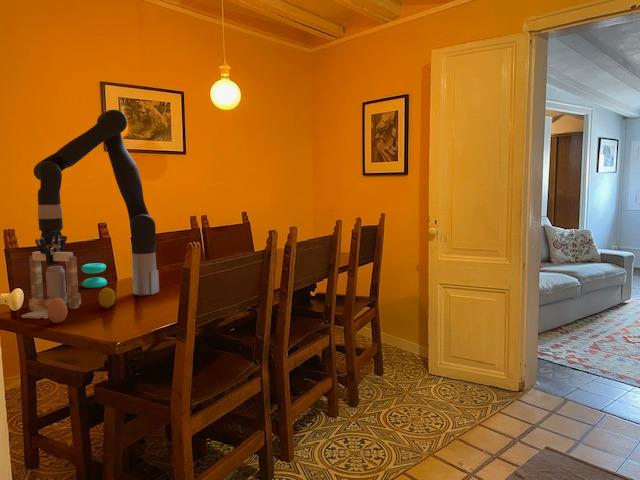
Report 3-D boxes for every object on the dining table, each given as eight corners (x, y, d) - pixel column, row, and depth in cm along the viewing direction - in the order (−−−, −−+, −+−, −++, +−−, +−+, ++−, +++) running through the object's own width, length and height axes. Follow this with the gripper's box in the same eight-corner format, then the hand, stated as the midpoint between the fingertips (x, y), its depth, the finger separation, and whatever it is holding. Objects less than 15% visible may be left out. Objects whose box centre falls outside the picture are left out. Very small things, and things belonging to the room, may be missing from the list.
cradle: (87, 304, 171) (84, 254, 169) (66, 312, 160) (62, 259, 158) (46, 302, 174) (43, 253, 172) (23, 310, 162) (19, 258, 160)
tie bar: (73, 260, 165) (72, 252, 165) (68, 261, 163) (68, 253, 162) (37, 259, 167) (37, 251, 167) (32, 260, 165) (32, 252, 164)
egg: (61, 319, 151) (60, 294, 150) (71, 321, 148) (70, 297, 147) (44, 323, 146) (42, 298, 145) (54, 326, 143) (52, 300, 142)
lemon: (119, 307, 167) (118, 286, 166) (107, 310, 162) (106, 289, 161) (107, 305, 169) (106, 284, 168) (95, 309, 163) (94, 288, 163)
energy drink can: (50, 305, 169) (47, 266, 167) (68, 304, 171) (65, 265, 169) (46, 309, 163) (43, 268, 162) (65, 308, 165) (62, 267, 164)
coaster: (64, 311, 160) (63, 309, 160) (45, 318, 152) (45, 316, 151) (41, 310, 162) (41, 308, 162) (21, 317, 153) (21, 315, 153)
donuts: (76, 266, 198) (90, 262, 208) (77, 288, 199) (91, 283, 209) (97, 266, 197) (110, 262, 207) (98, 288, 198) (111, 284, 208)
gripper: (45, 218, 156) (48, 267, 158) (72, 216, 170) (75, 261, 172) (26, 218, 157) (29, 267, 159) (54, 216, 171) (57, 261, 173)
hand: (53, 264), depth 165 cm, fingers closed on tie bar, 2 cm apart
